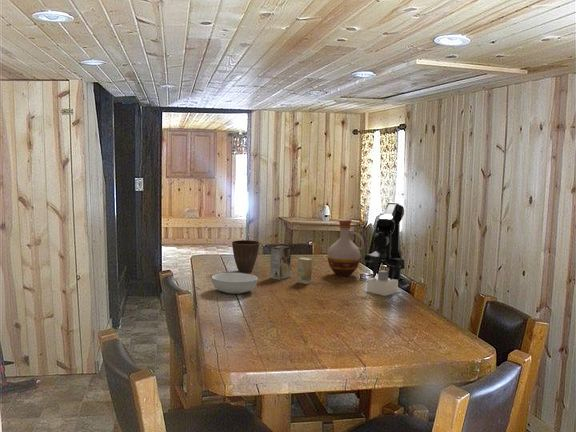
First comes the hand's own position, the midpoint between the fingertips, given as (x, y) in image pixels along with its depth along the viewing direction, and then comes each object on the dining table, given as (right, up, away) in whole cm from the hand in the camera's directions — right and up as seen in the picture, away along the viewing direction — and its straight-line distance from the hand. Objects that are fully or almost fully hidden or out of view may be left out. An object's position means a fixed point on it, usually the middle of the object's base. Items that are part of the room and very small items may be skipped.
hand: (382, 277), depth 253 cm
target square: (0, -7, +1) cm, 7 cm away
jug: (-14, -3, +38) cm, 40 cm away
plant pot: (-68, -1, +40) cm, 79 cm away
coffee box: (-49, -3, +27) cm, 56 cm away
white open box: (0, -7, +1) cm, 7 cm away
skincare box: (-36, -5, +16) cm, 40 cm away
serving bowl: (-69, -6, -6) cm, 69 cm away
